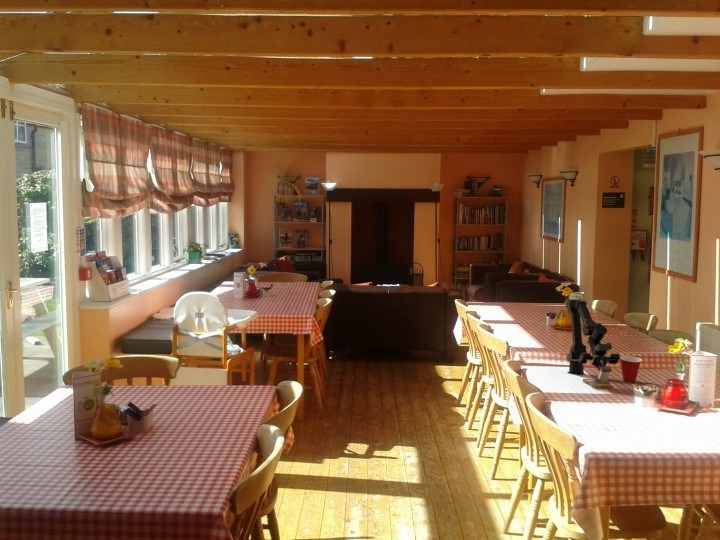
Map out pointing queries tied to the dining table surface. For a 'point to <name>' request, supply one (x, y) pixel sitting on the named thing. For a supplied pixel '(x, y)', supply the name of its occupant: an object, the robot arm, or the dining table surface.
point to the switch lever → (604, 375)
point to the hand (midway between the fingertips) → (603, 373)
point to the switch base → (595, 384)
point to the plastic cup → (630, 367)
